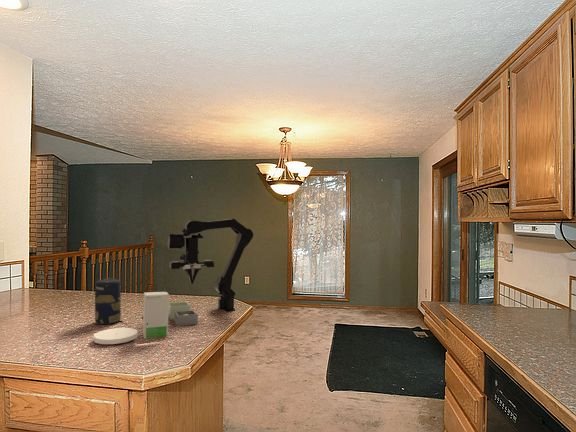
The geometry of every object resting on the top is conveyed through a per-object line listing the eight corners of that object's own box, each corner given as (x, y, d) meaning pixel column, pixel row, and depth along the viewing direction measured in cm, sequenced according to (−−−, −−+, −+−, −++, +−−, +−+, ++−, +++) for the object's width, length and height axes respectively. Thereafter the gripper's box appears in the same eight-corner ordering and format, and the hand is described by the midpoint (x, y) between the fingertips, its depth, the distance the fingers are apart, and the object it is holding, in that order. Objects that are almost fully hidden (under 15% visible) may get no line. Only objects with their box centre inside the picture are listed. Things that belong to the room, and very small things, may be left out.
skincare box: (143, 340, 138) (144, 295, 138) (142, 335, 144) (142, 292, 144) (169, 337, 141) (169, 293, 141) (166, 332, 147) (166, 290, 147)
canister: (125, 320, 164) (126, 276, 164) (108, 326, 155) (108, 280, 156) (107, 318, 168) (107, 275, 168) (89, 324, 159) (89, 278, 159)
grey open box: (193, 321, 164) (193, 310, 164) (197, 325, 157) (197, 314, 157) (174, 323, 161) (174, 311, 161) (177, 327, 154) (177, 316, 154)
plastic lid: (123, 348, 131) (123, 340, 131) (84, 346, 133) (84, 338, 133) (145, 335, 145) (145, 328, 145) (109, 333, 147) (109, 327, 147)
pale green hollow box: (186, 315, 174) (186, 301, 174) (190, 319, 167) (190, 305, 167) (166, 317, 170) (166, 302, 171) (169, 321, 163) (170, 306, 163)
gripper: (208, 246, 189) (208, 279, 189) (167, 247, 181) (167, 282, 181) (214, 248, 179) (214, 283, 179) (171, 249, 171) (171, 286, 171)
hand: (191, 283), depth 178 cm, fingers closed
